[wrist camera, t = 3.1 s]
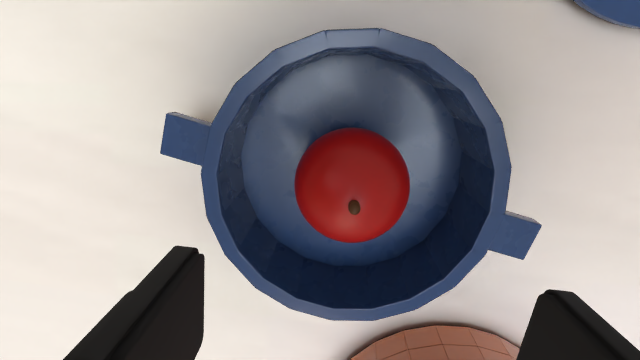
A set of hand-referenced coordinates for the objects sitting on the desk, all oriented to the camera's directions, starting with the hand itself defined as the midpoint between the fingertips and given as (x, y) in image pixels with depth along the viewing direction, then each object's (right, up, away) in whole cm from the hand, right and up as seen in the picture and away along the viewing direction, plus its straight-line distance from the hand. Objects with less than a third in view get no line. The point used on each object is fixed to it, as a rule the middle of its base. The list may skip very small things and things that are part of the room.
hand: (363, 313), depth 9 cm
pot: (+1, +5, +14) cm, 15 cm away
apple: (+1, +3, +11) cm, 11 cm away
